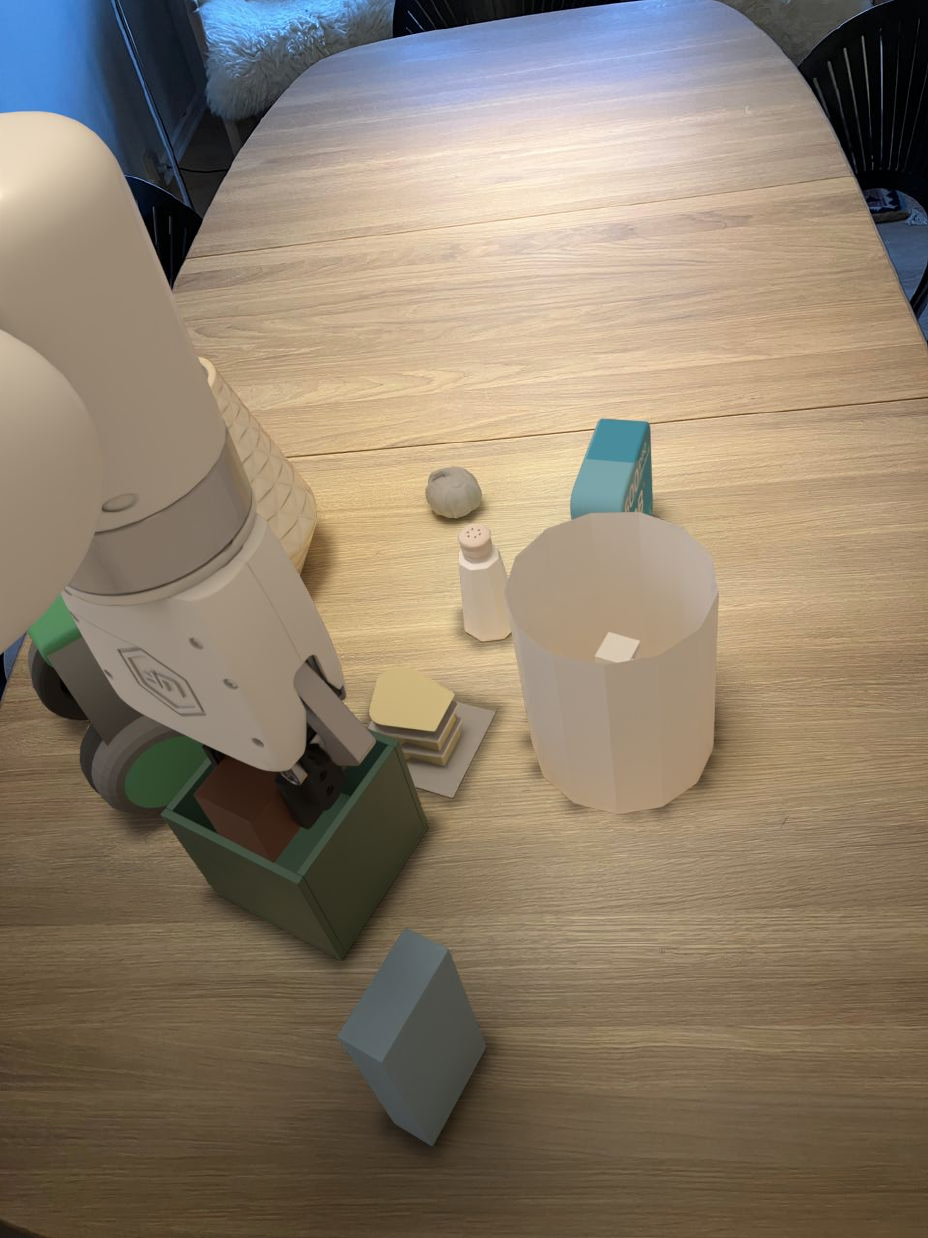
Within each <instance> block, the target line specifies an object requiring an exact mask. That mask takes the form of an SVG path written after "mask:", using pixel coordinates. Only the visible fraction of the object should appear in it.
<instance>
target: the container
mask: <svg viewBox="0 0 928 1238" xmlns="http://www.w3.org/2000/svg"><path fill="white" fill-rule="evenodd" d="M504 595H505V600H506V605H507V611H508V616H509V622H510V627H511V637H512V643H513V648H514V654H515V659H516V666H517V670H518V675H519V681H520V686H521V691H522V697H523V702H524V707H525V713H526V717H527V718H526V719H527V723H528V729H529V734H530V740H531V744H532V746H533V750H534V752H535V757H536V759H537V761H538V762H537V763H538V765H539V769H540V771H541V774H542V775H541V776H542V777H543V778H544V779H545V780H546V781H547V782H548V783H549V784H551V785H552V786H553V787H554V788H556V789H557V790H558V791H559V792H560V793H561V794H562V795H564V796H565V797H566V798H567V799H568V800H570V801H571V802H572V803H573V804H574V805H579V806H583V807H586V808H591V809H595V810H598V811H602V812H606V813H611V814H614V815H622V814H623V815H624V814H628V813H634V812H641V811H645V810H646V811H647V810H652V809H659V808H663V807H665V806H667V805H668V804H669V803H670V802H672V801H673V800H675V799H677V798H678V797H679V796H681V795H682V794H683V793H685V792H686V791H688V790H689V789H690V788H692V787H693V786H695V785H697V783H698V782H699V780H700V778H701V775H702V774H703V771H704V770H705V767H706V765H707V763H708V761H709V758H710V756H711V754H712V752H713V750H714V746H715V745H714V743H715V742H714V741H715V740H714V739H715V714H716V713H715V710H716V688H717V687H716V685H717V657H718V630H719V629H718V627H719V604H720V603H719V602H720V601H719V599H720V590H719V584H718V580H717V575H716V569H715V563H714V559H713V554H711V552H709V551H708V550H707V549H706V548H705V547H704V546H703V545H702V544H701V543H700V541H698V540H697V539H696V538H695V537H694V536H693V535H692V534H691V533H690V532H689V531H688V530H686V528H685V527H683V526H682V525H679V524H676V523H673V522H670V521H667V520H664V519H661V518H658V517H656V516H653V515H652V516H649V515H646V514H644V513H641V512H611V513H589V514H586V515H584V516H581V517H578V518H575V519H572V520H571V519H570V520H567V521H564V522H561V523H558V524H556V525H553V526H551V527H548V528H545V529H544V531H543V532H542V533H540V534H539V535H538V536H537V537H536V538H535V539H534V540H533V541H531V542H530V543H529V544H528V545H527V546H526V547H525V548H523V550H521V551H520V552H519V553H518V554H517V555H516V556H515V557H514V560H513V564H512V566H511V570H510V573H509V575H508V582H507V585H506V588H505V591H504Z"/></svg>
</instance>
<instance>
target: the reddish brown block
mask: <svg viewBox="0 0 928 1238" xmlns="http://www.w3.org/2000/svg"><path fill="white" fill-rule="evenodd" d="M306 731H307V730H306ZM341 767H342V769H343V771H344V769H345V768H346V767H347V766H341ZM278 772H279V771H266V770H262V769H259V768H256V767H254V766H251V765H249V764H247V763H244V762H242V761H240V760H237V759H235V758H233V757H231V756H229V755H226V756H225V757H224V758H223V760H222V761H221V762H220V763H219V764H218V766H217V767H216V768H215V769H214V770H213V772H212V773H211V774H210V775H209V776H208V778H207V779H206V780H205V781H204V782H203V784H202V785H201V786H200V787H199V788H198V790H197V791H196V792H195V793H194V797H195V798H196V800H197V801H198V803H199V805H200V806H201V808H202V809H203V811H204V812H205V814H206V815H207V817H208V819H209V820H210V822H211V823H212V825H213V826H214V828H215V829H216V831H217V832H218V834H219V835H221V836H223V837H225V838H226V839H228V840H230V841H232V842H234V843H236V844H238V845H240V846H242V847H244V848H246V849H248V850H249V851H251V852H253V853H255V854H257V855H259V856H261V857H263V858H265V859H267V860H269V861H271V862H273V863H274V862H275V861H276V860H277V859H278V857H279V856H280V855H281V853H282V852H283V851H284V849H285V848H286V847H287V845H288V844H289V843H290V841H291V840H292V839H293V837H294V836H295V835H296V833H297V832H298V831H299V829H300V828H301V827H300V826H298V825H297V823H296V822H295V820H294V818H293V816H292V814H291V812H290V810H289V808H288V807H287V805H286V803H285V801H284V799H283V797H282V795H281V793H280V791H279V790H278V788H277V786H276V784H275V782H274V781H275V777H276V775H277V773H278Z"/></svg>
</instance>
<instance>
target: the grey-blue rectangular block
mask: <svg viewBox="0 0 928 1238" xmlns="http://www.w3.org/2000/svg"><path fill="white" fill-rule="evenodd" d="M336 1038H337V1039H338V1041H339V1042H340V1044H341V1045H342V1047H343V1048H344V1050H345V1051H346V1053H347V1055H348V1056H349V1057H350V1059H351V1060H352V1062H353V1064H354V1065H355V1066H356V1068H357V1069H358V1071H359V1072H360V1074H361V1076H362V1077H363V1079H364V1080H365V1081H366V1084H368V1087H370V1089H371V1091H372V1092H373V1094H374V1095H375V1097H376V1099H378V1101H379V1103H380V1104H381V1106H382V1107H383V1109H384V1110H385V1112H386V1113H387V1115H388V1116H389V1118H390V1119H391V1121H392V1122H393V1124H394V1125H396V1126H398V1128H400V1129H402V1130H404V1131H406V1132H407V1133H409V1134H411V1135H412V1136H414V1137H416V1138H418V1139H419V1140H420V1141H422V1142H424V1143H426V1144H427V1145H429V1146H431V1147H433V1146H434V1145H435V1144H436V1141H437V1139H438V1138H439V1136H440V1134H441V1133H442V1130H443V1128H444V1127H445V1125H446V1123H447V1121H448V1119H449V1117H450V1116H451V1114H452V1112H453V1110H454V1108H455V1106H456V1105H457V1103H458V1101H459V1099H460V1097H461V1095H462V1094H463V1091H464V1089H465V1088H466V1085H467V1084H468V1082H469V1080H470V1078H471V1077H472V1075H473V1073H474V1071H475V1069H476V1067H477V1065H478V1064H479V1061H480V1060H481V1059H482V1056H483V1055H484V1053H485V1050H486V1049H487V1044H486V1041H485V1039H484V1036H483V1033H482V1031H481V1028H480V1025H479V1023H478V1021H477V1018H476V1015H475V1013H474V1010H473V1008H472V1005H471V1002H470V1000H469V997H468V995H467V992H466V990H465V986H464V985H463V981H462V979H461V977H460V974H459V971H458V969H457V967H456V964H455V960H454V958H453V955H452V954H451V951H450V948H448V947H446V946H444V945H442V944H440V943H438V942H436V941H434V940H433V939H430V938H428V937H426V936H424V935H422V934H421V933H418V932H416V931H414V930H412V929H410V928H408V927H404V929H403V930H402V932H401V933H400V935H399V936H398V938H397V940H396V941H395V943H394V945H393V946H392V948H391V949H390V951H389V952H388V954H387V956H386V957H385V959H384V961H383V962H382V964H381V965H380V967H379V969H378V970H377V972H376V973H375V975H374V976H373V978H372V980H371V981H370V983H369V984H368V986H367V988H366V989H365V991H364V992H363V994H362V996H361V997H360V999H359V1000H358V1002H357V1003H356V1004H355V1006H354V1008H353V1010H352V1012H351V1013H350V1015H349V1016H348V1017H347V1020H346V1021H345V1022H344V1024H343V1026H342V1028H340V1031H339V1032H338V1034H337V1035H336Z"/></svg>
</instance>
